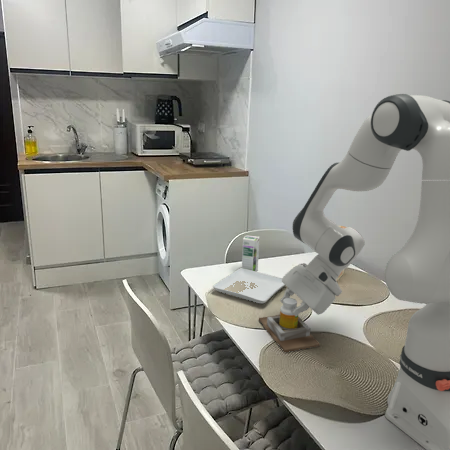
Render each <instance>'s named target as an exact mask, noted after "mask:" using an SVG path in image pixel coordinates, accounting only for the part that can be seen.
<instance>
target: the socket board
mask: <svg viewBox="0 0 450 450" xmlns="http://www.w3.org/2000/svg"><path fill="white" fill-rule="evenodd" d="M259 321H260V322H261V323H262V324H263V326H264V327H265V328H264V327H263V326H262V327H263V328H264V329H265V331H266V330H267V331H266V332H267V333H268V335H269V336H270V337H271V338H272V339H273V340H274V342H275V341H276V342H277V343H278V344H279V345H280V347H281V348H282V349H283V350H282V349H281V348H280V347H279V348H280V349H281V350H282V352H283V351H284V352H288V353H290V352H289V351H293V352H296V351H295V350H298V351H300V350H299V349H303V350H307V349H306V348H309V349H311V348H310V347H314V348H317V347H316V346H319V347H320V342H319V341H318V340H317V339H316V338H315V337H314V336H313V335H312V334H311V328H310V326H308V325H307V324H306V322H304V320H302V318H300V317H299V316H298V325H297V328H295V329H289V330H282V329H281V328H280V327H279V321H280V314H276V315H269V316H263V317H259V318H258V322H259ZM260 322H259V323H260ZM261 323H260V324H261ZM262 324H261V325H262ZM276 342H275V343H276ZM277 343H276V344H277ZM278 344H277V345H278ZM279 345H278V346H279ZM284 352H283V353H284Z"/></svg>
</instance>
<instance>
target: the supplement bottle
mask: <svg viewBox="0 0 450 450" xmlns="http://www.w3.org/2000/svg"><path fill="white" fill-rule="evenodd" d="M297 305H298V301H297V300H296V298H292V297H290V298H285V299H284V300H283V303H282V305H281V306H280V310H279V315H280V321H279V327H280V328H281V329H282V330H289V329H295V328H297V325H298V317H299V315H298V316H295V315H294V314H293V313H292V312H291V310H292V309H293V308H294V307H295V308H297V307H298V306H297Z"/></svg>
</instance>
